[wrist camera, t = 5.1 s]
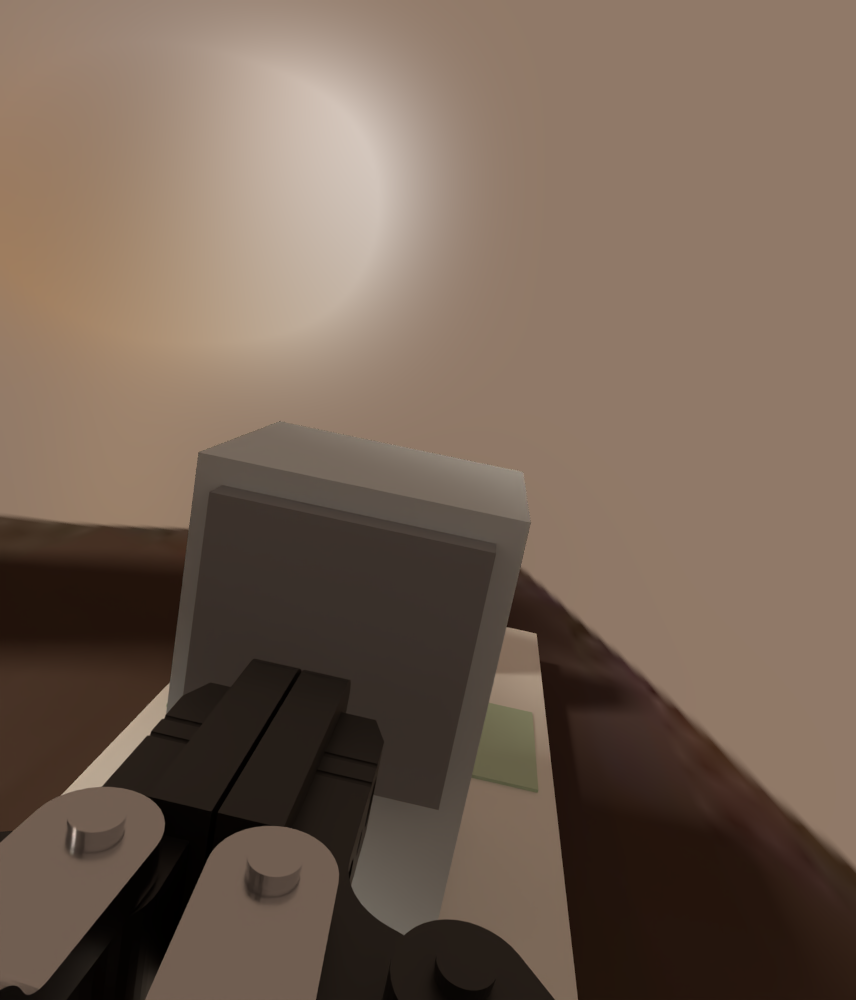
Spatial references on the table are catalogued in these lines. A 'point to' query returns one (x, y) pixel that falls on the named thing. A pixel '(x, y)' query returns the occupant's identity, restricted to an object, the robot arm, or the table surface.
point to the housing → (480, 820)
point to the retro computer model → (363, 615)
